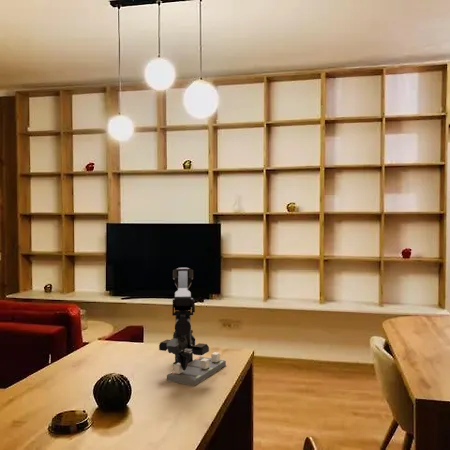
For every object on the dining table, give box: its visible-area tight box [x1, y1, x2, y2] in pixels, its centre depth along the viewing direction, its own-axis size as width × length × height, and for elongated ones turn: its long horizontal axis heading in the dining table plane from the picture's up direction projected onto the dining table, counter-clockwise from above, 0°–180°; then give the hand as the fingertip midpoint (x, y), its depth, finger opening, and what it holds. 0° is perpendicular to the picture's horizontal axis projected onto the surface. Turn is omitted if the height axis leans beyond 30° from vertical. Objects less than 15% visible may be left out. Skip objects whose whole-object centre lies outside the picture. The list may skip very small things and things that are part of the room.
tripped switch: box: [173, 363, 184, 374], centre depth 185 cm, size 2×3×3 cm
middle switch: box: [200, 357, 209, 369], centre depth 190 cm, size 2×3×3 cm
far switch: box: [210, 351, 221, 362], centre depth 198 cm, size 2×3×3 cm
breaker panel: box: [166, 356, 227, 387], centre depth 191 cm, size 12×25×2 cm, turn 153°
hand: (184, 369), depth 183 cm, fingers closed
